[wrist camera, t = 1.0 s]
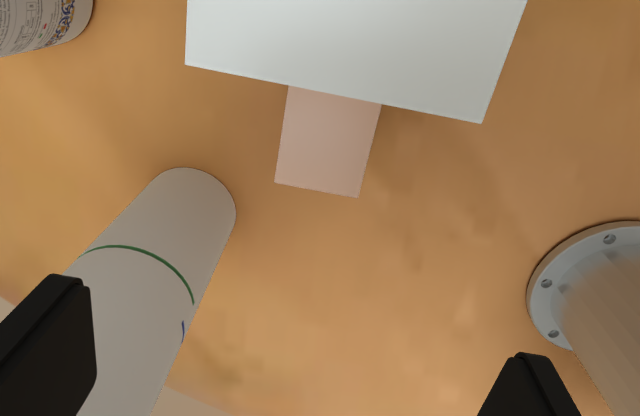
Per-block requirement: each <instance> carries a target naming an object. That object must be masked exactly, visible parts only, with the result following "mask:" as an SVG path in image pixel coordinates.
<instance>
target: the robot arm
mask: <svg viewBox="0 0 640 416" xmlns="http://www.w3.org/2000/svg"><path fill="white" fill-rule="evenodd" d="M526 304H527V310H528V313H529V316H530V318H531V320H532V322H533V324H534V325H535V327H536V328H537V330H538V331H539V333H540V334H541V335H542V336H543V337H544V338H545V339H547V340H548V341H550V342H552V343H553V344H555V345H557V346H559V347H562V348H564V349H567V350H571V351H574V352H575V354H576V355H577V357H578V359H579V360H580V362H581V363H582V365H583V367H584V368H585V370H586V371H587V373H588V374H589V376H590V378H591V379H592V381H593V382H594V384H595V386H596V387H597V389H598V390H599V392H600V393H601V395H602V397H603V398H604V400H605V401H606V403H607V405H608V406H609V408H610V409H611V411H612V412H613V414H614V416H640V221H621V222H614V223H607V224H603V225H600V226H596V227H593V228H589V229H587V230H585V231H583V232H580V233H578V234H576V235H574V236H572V237H571V238H569V239H567V240H566V241H564V242H563V243H561V244H559V245H558V246H557V247H556V248H555V249H554V250H552V251H551V252H550V253H549V254H548V255H547V256H546V257H545V258H544V259H543V261H542V262H541V263H540V264H539V265H538V267H537V268H536V270H535V272H534V273H533V275H532V277H531V279H530V282H529V285H528V288H527V295H526ZM96 377H97V363H96V352H95V340H94V328H93V316H92V305H91V293H90V288H89V287H88V286H84V285H83V281H82V279H81V278H77V277H71V276H65V275H59V274H50V275H48V276H47V277H46V278H45V279H44V280H43V281H42V282H41V283H40V284H39V285H38V286H37V287H36V288H35V289H34V290H33V291H32V292H31V293H30V294H29V295H28V296H27V297H26V298H25V299H24V300H23V301H22V302H21V303H20V304H19V305H18V306H17V307H16V308H15V309H14V310H13V311H12V312H11V313H10V314H9V315H8V316H7V317H6V318H5V319H4V320H3V321H2V322H1V323H0V416H76V415H77V413H78V412H79V410H80V409H81V407H82V405H83V404H84V402H85V400H86V399H87V397H88V395H89V394H90V392H91V390H92V388H93V387H94V384H95V381H96ZM477 416H581V414H580V412H579V410H578V409H577V407H576V405H575V403H574V402H573V400H572V398H571V396H570V394H569V393H568V391H567V389H566V387H565V385H564V384H563V382H562V380H561V378H560V376H559V375H558V373H557V371H556V369H555V367H554V366H553V364H552V362H551V361H550V359H549V358H547V357H546V356H542V355H536V354H530V353H524V352H519V353H517V354H516V355H515V356H514V357H510V358H508V360H507V361H506V363H505V365H504V367H503V368H502V370H501V372H500V374H499V376H498V378H497V379H496V381H495V383H494V385H493V387H492V389H491V391H490V392H489V394H488V396H487V398H486V400H485V402H484V404H483V405H482V407H481V409H480V411H479V413H478V415H477Z"/></svg>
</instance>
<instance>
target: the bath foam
mask: <svg viewBox="0 0 640 416" xmlns="http://www.w3.org/2000/svg"><path fill="white" fill-rule="evenodd" d="M92 7H93V0H0V57H5V56H9V55H14V54H18V53H23V52H28V51H32V50H37V49H41V48H45V47H50V46H55V45H59V44H62V43H65V42H68V41H70V40H72V39H74V38H75V37H77V36H78V35H79V34H80V33H81V32H82V31H83V30H84V28H85V27H86V25H87V24H88V21H89V19H90V16H91V12H92Z"/></svg>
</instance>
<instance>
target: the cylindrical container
mask: <svg viewBox="0 0 640 416" xmlns="http://www.w3.org/2000/svg"><path fill="white" fill-rule="evenodd" d="M235 220H236V209H235V204H234V201H233V199H232V196H231V195H230V193H229V192H228V190H227V189H226V187H225V186H224V185H223V184H222V183H221V182H220V181H219V180H217V179H216V178H214V177H213V176H212V175H210V174H208V173H206V172H204V171H201V170H197V169H194V168H186V167H182V168H173V169H170V170H166V171H165V172H163V173H161V174H159V175H158V176H157V177H156V178H154V179H153V180H152V181H151V182H150V183H149V184H148V185H147V187H146V188H145V189H144V190H143V191H142V192H141V193H140V194H139V195H138V196H137V197H136V198H135V199H134V200H133V201H132V202H131V203H130V204H129V205H128V206H127V207H126V208H125V209H124V210H123V211H122V213H121V214H120V215H119V216H118V217H117V218H116V219H115V220H114V221H113V222H112V223H111V224H110V225H109V226H108V227H107V228H106V229H105V230H104V231H103V232H102V233H101V234H100V235H99V236H98V237H97V239H96V240H95V241H94V242H93V243H92V244H91V245H90V246H89V247H88V248H87V249H86V250H85V251H84V252H83V253H82V254H81V255H80V256H79V257H78V258H77V259H76V260H75V261H74V262H73V263H72V264H71V266H70V267H69V268H68V269H67V270H66V271H65V272H64V273H63V274H62V275H65V276H71V277H77V278H81V279H82V281H83V285H84V286H88V287H89V288H90V293H91V305H92V316H93V328H94V340H95V352H96V363H97V377H96V381H95V384H94V387H93V388H92V390H91V392H90V394H89V395H88V397H87V399H86V400H85V402H84V404H83V405H82V407H81V409H80V410H79V412H78V413H77V415H76V416H150V414H151V412H152V410H153V408H154V405H155V403H156V401H157V399H158V396H159V394H160V392H161V390H162V387H163V385H164V383H165V381H166V378H167V376H168V374H169V372H170V369H171V367H172V365H173V363H174V360H175V358H176V356H177V353H178V351H179V349H180V347H181V344H182V342H183V340H184V338H185V335H186V333H187V331H188V329H189V326H190V324H191V322H192V320H193V317H194V315H195V313H196V311H197V309H198V306H199V304H200V302H201V300H202V297H203V295H204V293H205V291H206V288H207V286H208V284H209V282H210V279H211V277H212V275H213V273H214V270H215V268H216V266H217V264H218V261H219V259H220V257H221V254H222V252H223V250H224V248H225V245H226V243H227V241H228V239H229V236H230V234H231V232H232V230H233V227H234V225H235Z"/></svg>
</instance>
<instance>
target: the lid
mask: <svg viewBox="0 0 640 416" xmlns="http://www.w3.org/2000/svg"><path fill="white" fill-rule="evenodd" d="M526 3H527V0H187V25H186V50H185V65H189V66H194V67H199V68H204V69H209V70H214V71H219V72H224V73H229V74H234V75H239V76H244V77H249V78H254V79H259V80H264V81H269V82H274V83H279V84H284V85H289V87H288V94H287V100H286V107H285V114H284V120H283V127H282V134H281V140H280V147H279V153H278V160H277V167H276V173H275V180H274V183H279V184H284V185H289V186H295V187H300V188H305V189H310V190H316V191H321V192H326V193H332V194H337V195H342V196H347V197H353V198H358V196H359V192H360V188H361V184H362V180H363V176H364V172H365V168H366V164H367V161H368V157H369V153H370V149H371V145H372V141H373V137H374V133H375V129H376V125H377V121H378V118H379V114H380V110H381V106H382V104H384V105H389V106H394V107H399V108H404V109H409V110H414V111H419V112H424V113H429V114H434V115H439V116H444V117H449V118H454V119H459V120H464V121H469V122H474V123H479V124H482V121H483V118H484V116H485V113H486V110H487V108H488V105H489V102H490V100H491V97H492V94H493V92H494V89H495V86H496V84H497V81H498V78H499V75H500V73H501V70H502V67H503V65H504V62H505V59H506V57H507V54H508V51H509V49H510V46H511V43H512V41H513V38H514V35H515V33H516V30H517V27H518V24H519V22H520V19H521V16H522V14H523V11H524V8H525V6H526Z"/></svg>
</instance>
